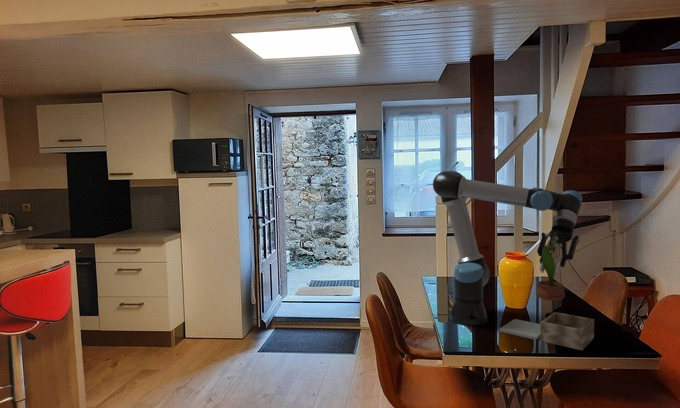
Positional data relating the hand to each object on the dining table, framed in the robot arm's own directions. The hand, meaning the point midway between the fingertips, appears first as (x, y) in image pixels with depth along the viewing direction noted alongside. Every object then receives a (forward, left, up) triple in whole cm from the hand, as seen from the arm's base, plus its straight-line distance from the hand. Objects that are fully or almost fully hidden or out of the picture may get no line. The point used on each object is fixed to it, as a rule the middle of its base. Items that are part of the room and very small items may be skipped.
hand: (549, 271), depth 162 cm
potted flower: (-1, +4, -11) cm, 12 cm away
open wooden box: (+6, +3, -25) cm, 26 cm away
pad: (-10, +3, -25) cm, 27 cm away
